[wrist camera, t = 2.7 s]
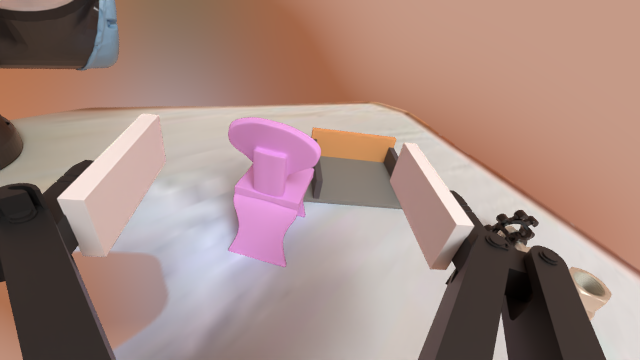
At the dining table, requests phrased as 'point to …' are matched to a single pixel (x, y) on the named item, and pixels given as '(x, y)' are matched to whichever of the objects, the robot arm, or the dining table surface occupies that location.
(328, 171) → the grey and orange tray
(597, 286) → the valve
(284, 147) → the toy chair
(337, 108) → the dining table surface
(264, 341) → the dining table surface
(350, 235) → the dining table surface
